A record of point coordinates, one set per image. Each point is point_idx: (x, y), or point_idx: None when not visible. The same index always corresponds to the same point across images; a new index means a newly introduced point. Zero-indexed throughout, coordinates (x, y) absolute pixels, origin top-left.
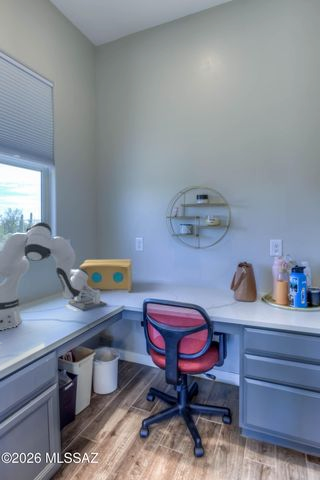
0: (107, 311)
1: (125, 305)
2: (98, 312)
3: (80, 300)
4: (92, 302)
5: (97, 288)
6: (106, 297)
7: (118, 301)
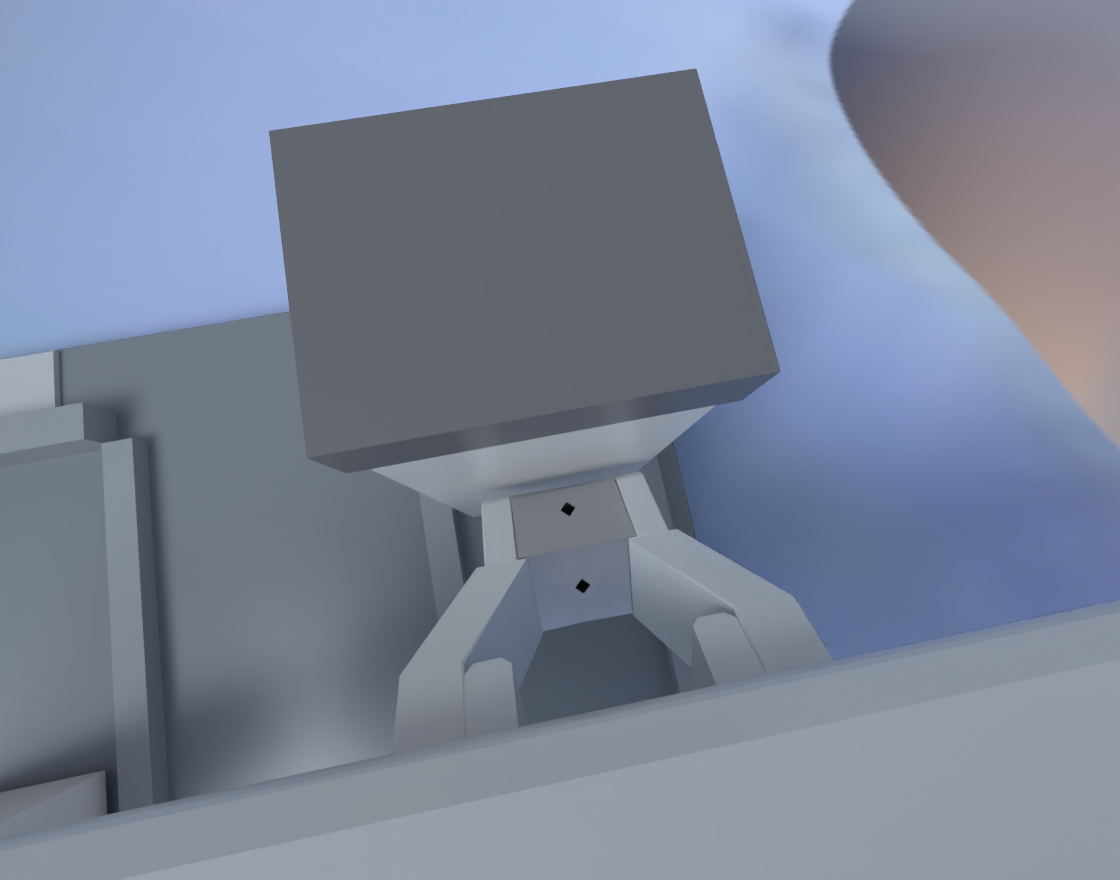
0: (1006, 400)
1: (821, 9)
2: (988, 577)
3: (86, 792)
4: (452, 533)
5: (741, 237)
6: (101, 92)
7: (520, 12)
